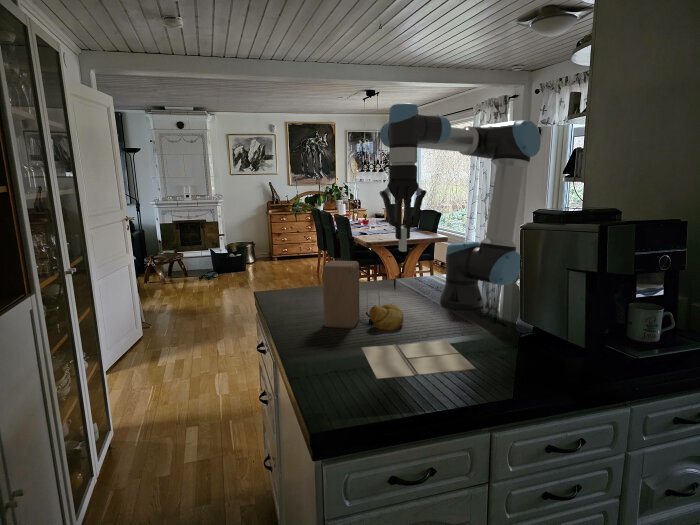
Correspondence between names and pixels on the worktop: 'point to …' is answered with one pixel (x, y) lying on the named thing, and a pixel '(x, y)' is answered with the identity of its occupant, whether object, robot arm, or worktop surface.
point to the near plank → (441, 364)
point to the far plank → (427, 349)
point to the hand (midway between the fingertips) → (402, 250)
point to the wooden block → (341, 294)
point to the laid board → (388, 361)
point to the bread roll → (386, 317)
